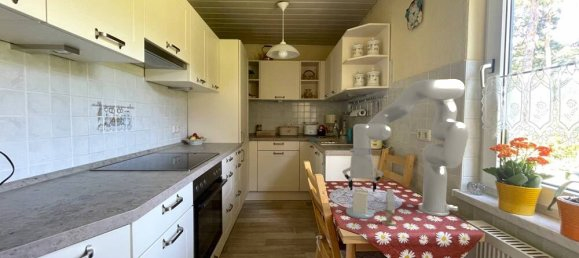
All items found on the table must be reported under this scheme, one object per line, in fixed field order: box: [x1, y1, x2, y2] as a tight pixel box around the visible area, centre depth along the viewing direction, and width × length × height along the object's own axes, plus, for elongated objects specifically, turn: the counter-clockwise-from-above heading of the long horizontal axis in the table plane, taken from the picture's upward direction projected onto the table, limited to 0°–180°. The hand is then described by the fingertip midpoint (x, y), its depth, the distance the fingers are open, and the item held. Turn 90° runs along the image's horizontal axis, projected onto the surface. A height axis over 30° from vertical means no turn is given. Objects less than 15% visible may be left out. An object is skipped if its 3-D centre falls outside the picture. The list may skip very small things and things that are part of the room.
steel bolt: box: [386, 189, 396, 212], centre depth 99 cm, size 2×16×3 cm, turn 161°
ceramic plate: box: [345, 206, 375, 220], centre depth 118 cm, size 12×12×1 cm
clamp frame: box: [381, 188, 397, 227], centre depth 113 cm, size 5×17×10 cm, turn 161°
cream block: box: [352, 188, 369, 214], centre depth 117 cm, size 6×6×9 cm
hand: (362, 190), depth 117 cm, fingers open, 9 cm apart
